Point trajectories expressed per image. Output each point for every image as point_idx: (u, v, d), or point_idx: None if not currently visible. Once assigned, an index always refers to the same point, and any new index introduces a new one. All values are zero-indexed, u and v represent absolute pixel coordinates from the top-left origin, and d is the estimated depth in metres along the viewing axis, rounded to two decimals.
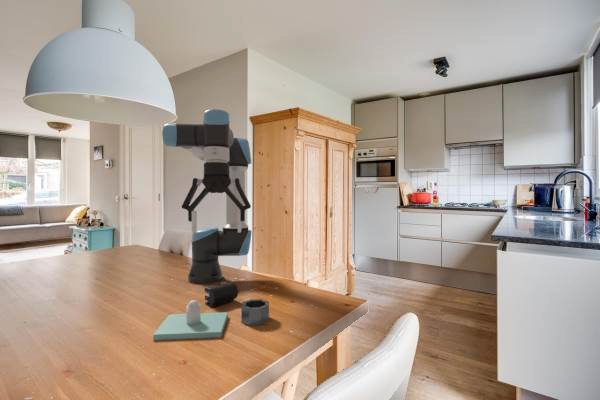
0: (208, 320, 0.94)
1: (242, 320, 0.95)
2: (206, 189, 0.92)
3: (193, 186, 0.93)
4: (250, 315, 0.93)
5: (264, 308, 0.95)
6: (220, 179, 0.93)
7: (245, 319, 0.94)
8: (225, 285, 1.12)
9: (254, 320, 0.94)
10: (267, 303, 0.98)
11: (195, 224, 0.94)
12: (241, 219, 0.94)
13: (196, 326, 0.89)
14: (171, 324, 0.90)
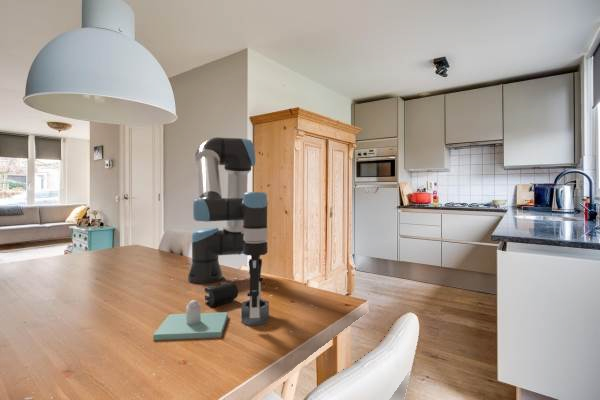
0: (208, 320, 0.94)
1: (242, 320, 0.95)
2: None
3: None
4: None
5: (264, 308, 0.95)
6: None
7: (245, 319, 0.94)
8: (225, 285, 1.12)
9: (254, 320, 0.94)
10: (267, 303, 0.98)
11: None
12: (252, 304, 0.90)
13: (196, 326, 0.89)
14: (171, 324, 0.90)
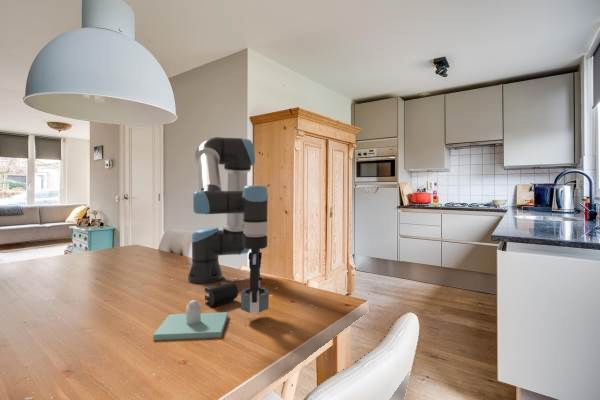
0: (208, 320, 0.94)
1: (242, 307, 0.96)
2: None
3: None
4: None
5: (264, 295, 0.95)
6: None
7: (245, 306, 0.95)
8: (225, 285, 1.12)
9: None
10: (267, 291, 0.98)
11: None
12: (252, 300, 0.93)
13: (196, 326, 0.89)
14: (171, 324, 0.90)
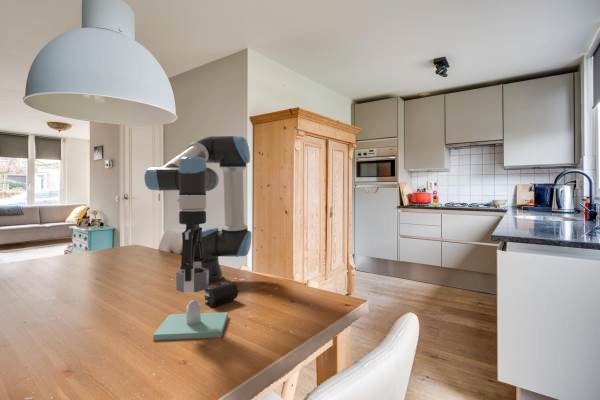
0: (208, 320, 0.94)
1: (177, 287, 0.89)
2: None
3: None
4: None
5: (200, 274, 0.89)
6: None
7: (179, 286, 0.88)
8: (225, 285, 1.12)
9: None
10: (205, 270, 0.92)
11: None
12: None
13: (196, 326, 0.89)
14: (171, 324, 0.90)
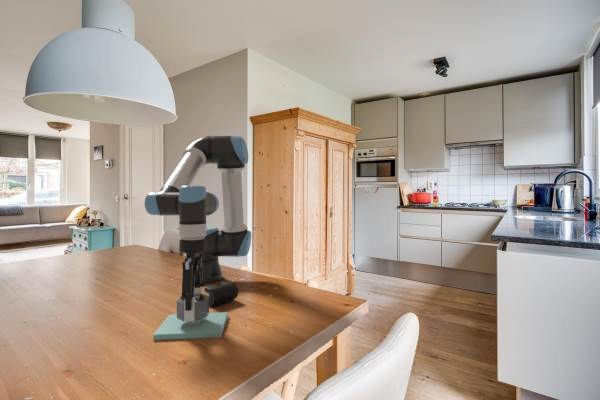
0: (208, 320, 0.94)
1: (178, 316, 0.89)
2: None
3: None
4: None
5: (200, 303, 0.89)
6: None
7: (180, 314, 0.88)
8: (225, 285, 1.12)
9: None
10: (206, 298, 0.92)
11: None
12: None
13: (196, 326, 0.89)
14: (171, 324, 0.90)
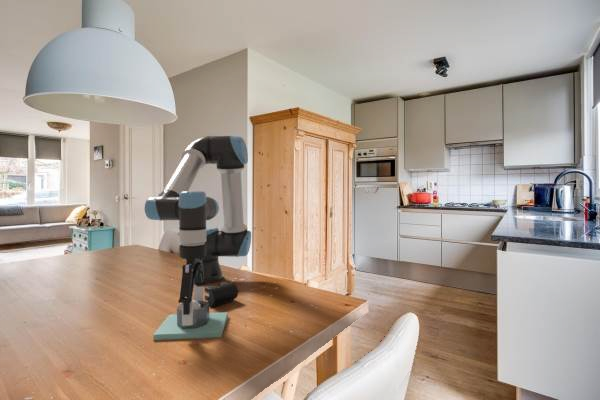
0: None
1: (178, 323, 0.89)
2: None
3: None
4: None
5: (201, 310, 0.89)
6: None
7: (180, 322, 0.89)
8: (225, 285, 1.12)
9: None
10: (206, 305, 0.92)
11: (198, 299, 0.98)
12: None
13: None
14: (171, 324, 0.90)
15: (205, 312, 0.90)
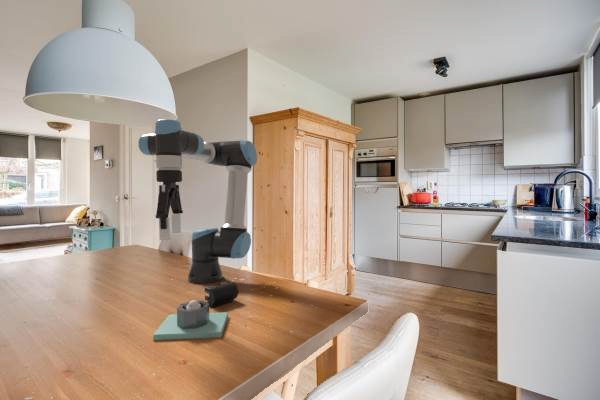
0: None
1: (178, 323, 0.89)
2: None
3: None
4: (185, 318, 0.88)
5: (201, 310, 0.89)
6: None
7: (180, 322, 0.89)
8: (225, 285, 1.12)
9: (188, 323, 0.88)
10: (206, 305, 0.92)
11: (176, 225, 1.06)
12: None
13: None
14: (171, 324, 0.90)
15: (205, 312, 0.90)
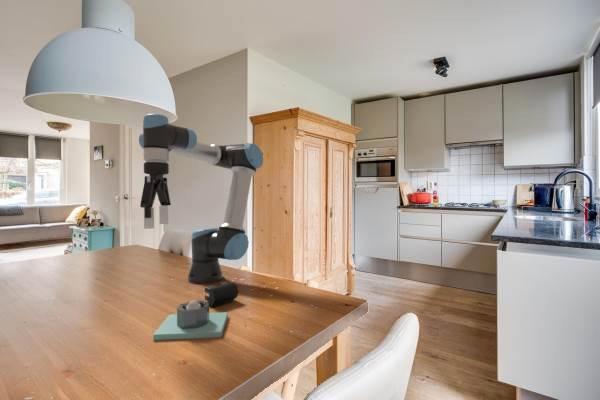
0: None
1: (178, 323, 0.89)
2: None
3: None
4: (185, 318, 0.88)
5: (201, 310, 0.89)
6: None
7: (180, 322, 0.89)
8: (225, 285, 1.12)
9: (188, 323, 0.88)
10: (206, 305, 0.92)
11: (163, 217, 1.10)
12: None
13: None
14: (171, 324, 0.90)
15: (205, 312, 0.90)
